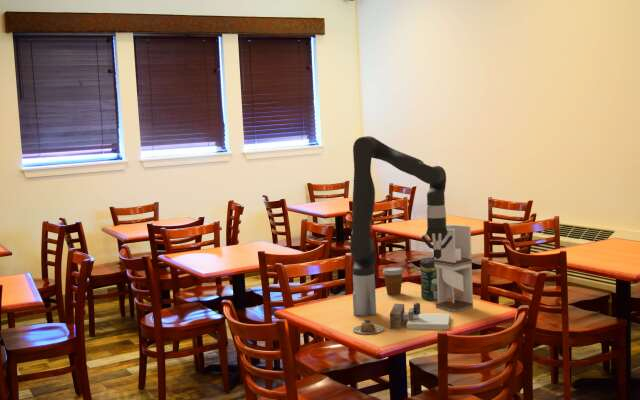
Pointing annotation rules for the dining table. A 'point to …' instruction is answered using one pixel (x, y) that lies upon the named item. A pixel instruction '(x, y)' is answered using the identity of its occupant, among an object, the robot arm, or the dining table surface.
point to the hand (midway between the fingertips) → (437, 258)
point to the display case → (455, 271)
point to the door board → (428, 321)
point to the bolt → (415, 313)
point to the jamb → (396, 316)
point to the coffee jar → (428, 279)
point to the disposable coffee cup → (393, 280)
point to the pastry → (367, 327)
